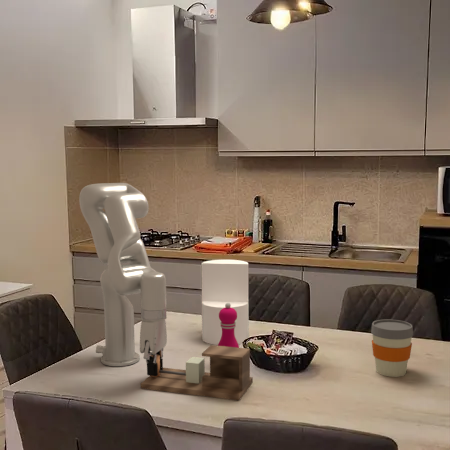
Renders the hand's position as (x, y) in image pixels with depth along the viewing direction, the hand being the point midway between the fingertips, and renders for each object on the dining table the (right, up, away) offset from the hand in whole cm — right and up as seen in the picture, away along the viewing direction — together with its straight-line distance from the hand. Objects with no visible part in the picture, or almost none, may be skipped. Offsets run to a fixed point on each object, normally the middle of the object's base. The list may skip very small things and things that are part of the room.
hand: (155, 372), depth 182 cm
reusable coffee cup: (+73, -1, +6) cm, 73 cm away
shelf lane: (+13, -3, -4) cm, 14 cm away
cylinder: (+21, +2, +41) cm, 47 cm away
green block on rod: (+6, -1, -2) cm, 7 cm away
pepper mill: (+22, -1, +15) cm, 27 cm away
